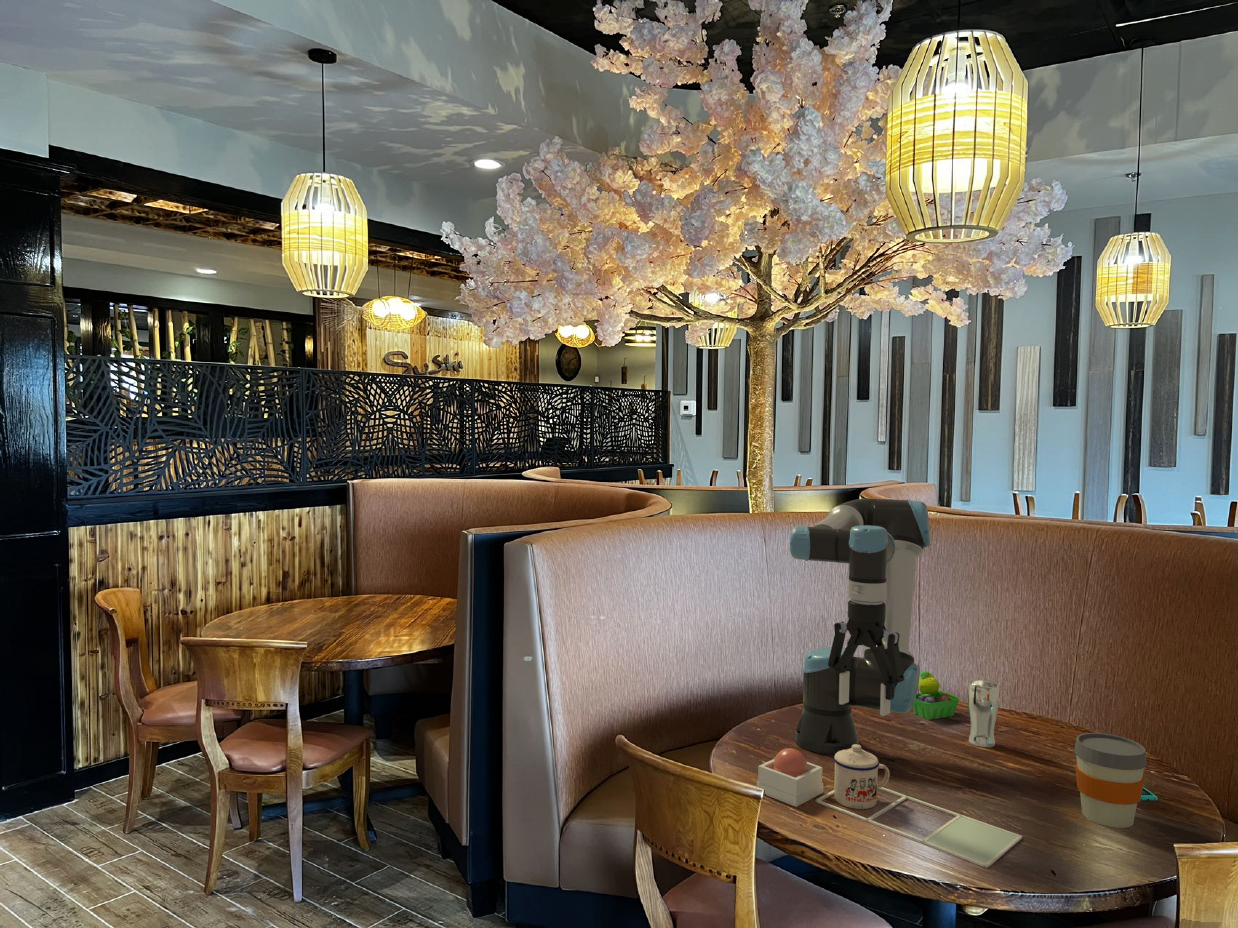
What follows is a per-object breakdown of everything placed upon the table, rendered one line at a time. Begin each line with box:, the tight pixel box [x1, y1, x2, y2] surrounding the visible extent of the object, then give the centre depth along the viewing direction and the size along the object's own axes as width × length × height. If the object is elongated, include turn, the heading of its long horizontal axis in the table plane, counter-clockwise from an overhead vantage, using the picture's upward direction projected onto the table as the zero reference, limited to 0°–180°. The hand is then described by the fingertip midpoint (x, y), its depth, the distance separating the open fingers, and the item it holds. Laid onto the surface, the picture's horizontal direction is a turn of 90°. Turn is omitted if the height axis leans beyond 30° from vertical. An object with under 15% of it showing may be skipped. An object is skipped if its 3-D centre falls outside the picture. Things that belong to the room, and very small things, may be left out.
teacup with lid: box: [833, 744, 890, 810], centre depth 174 cm, size 12×9×12 cm
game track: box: [814, 786, 1023, 869], centre depth 166 cm, size 35×16×1 cm, turn 44°
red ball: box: [773, 747, 808, 778], centre depth 178 cm, size 7×7×7 cm
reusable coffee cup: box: [1073, 732, 1148, 829], centre depth 168 cm, size 13×13×15 cm
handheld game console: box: [1141, 786, 1158, 801], centre depth 184 cm, size 10×16×1 cm, turn 179°
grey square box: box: [756, 758, 824, 808], centre depth 178 cm, size 10×10×6 cm
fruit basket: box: [912, 670, 961, 721], centre depth 228 cm, size 11×9×11 cm
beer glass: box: [967, 679, 1000, 749], centre depth 207 cm, size 7×7×15 cm
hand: (864, 708), depth 174 cm, fingers open, 9 cm apart
